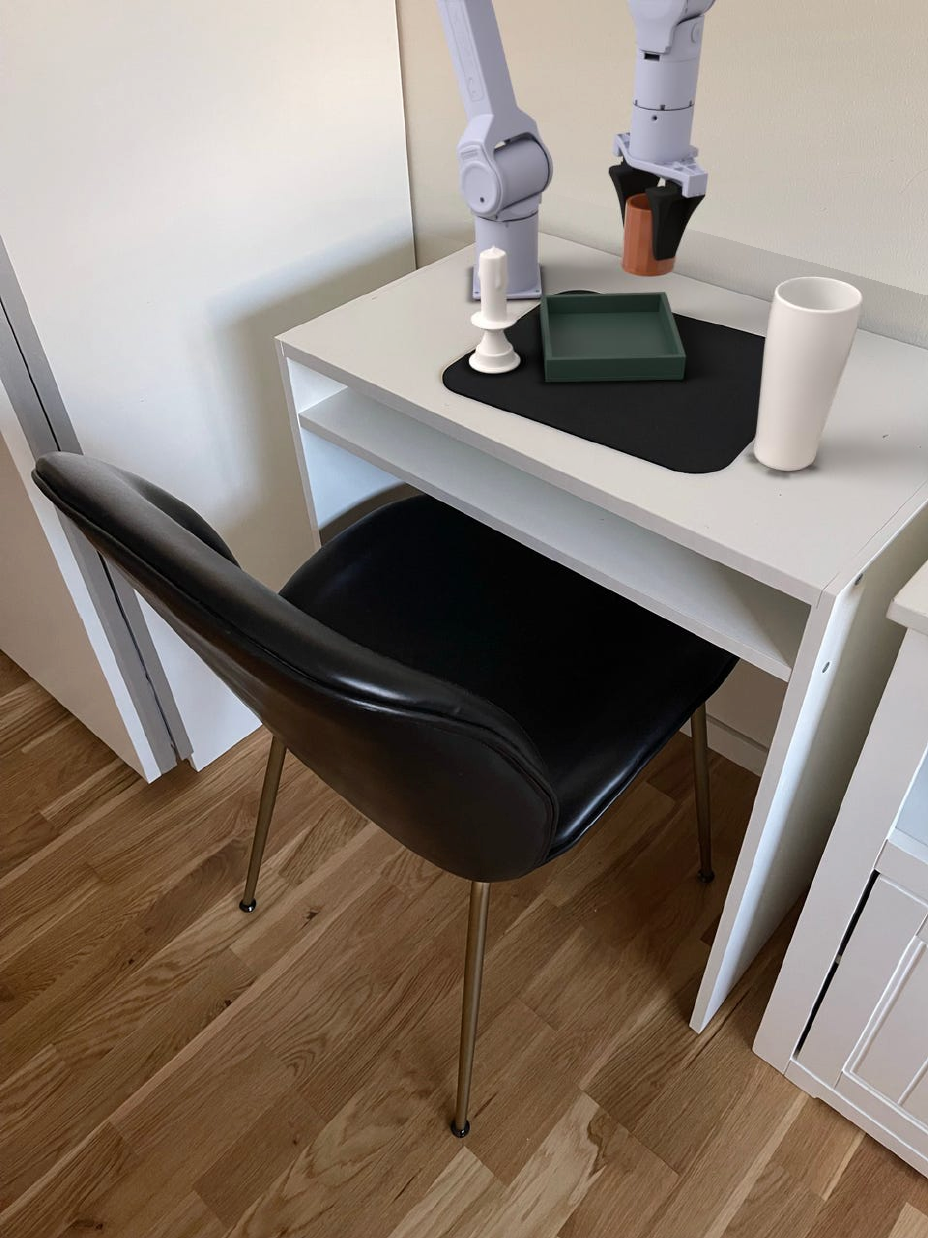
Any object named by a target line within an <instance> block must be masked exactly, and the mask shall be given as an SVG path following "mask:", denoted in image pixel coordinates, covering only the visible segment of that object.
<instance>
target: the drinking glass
mask: <svg viewBox="0 0 928 1238" xmlns="http://www.w3.org/2000/svg"><path fill="white" fill-rule="evenodd" d="M863 301H864V297H863V293H862V292H861V291H860V290H859V289H858V288H856V287H855V286H853V285H852V284H850V283H848V282H845V281H842V280H838V279H835V278H830V277H823V276H800V277H794V278H791V279H787V280H785V281H783V282H781V283H779V285H777V286H776V288H775V290H774V293H773V298H772V302H771V306H770V309H769V310H770V311H769V315H768V319H767V324H766V332H765V340H764V346H763V355H762V365H761V366H762V367H761V379H760V387H759V389H760V390H759V401H758V408H757V420H756V430H755V435H754V440H753V446H752V447H753V448H752V451H753V455H754V457H755V459H757V460H758V462H759V463H761V464H762V465H764V466H766V467H767V468H770V469H773V470H777V471H784V472H792V471H799V470H803V469H805V468H807V467H809V466H810V465H811V464H812V463H813V462H814V461H815V459H816V456H817V453H818V449H819V444H820V441H821V438H822V435H823V432H824V429H825V426H826V423H827V420H828V418H829V414H830V411H831V408H832V406H833V403H834V400H835V397H836V394H837V391H838V389H839V386H840V383H841V381H842V377H843V374H844V371H845V369H846V366H847V363H848V360H849V358H850V354H851V351H852V348H853V345H854V341H855V338H856V333H857V330H858V325H859V321H860V316H861V310H862V305H863Z"/></svg>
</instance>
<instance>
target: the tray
mask: <svg viewBox="0 0 928 1238" xmlns="http://www.w3.org/2000/svg"><path fill="white" fill-rule="evenodd" d="M539 314H540V316H539V317H540V327H541V339H542V341H541V342H542V351H543V363H544V376H545V383H582V382H583V383H584V382H586V383H588V382H590V383H591V382H632V381H675V380H676V381H680V380H684V377H685V376H684V375H685V369H686V361H687V355H686V351H685V349H684V347H683V346H684V345H683V343H682V339H681V336H680V334H679V330H678V327H677V324H676V320H675V318H674V314H673V311H672V308H671V305H670V302H669V298H668V295H667V293H666V291H650V292H648V291H647V292H615V293H613V292H610V293H574V294H570V293H568V294H567V293H566V294H542V295H541V297H540V312H539Z"/></svg>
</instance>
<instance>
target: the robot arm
mask: <svg viewBox="0 0 928 1238" xmlns="http://www.w3.org/2000/svg"><path fill="white" fill-rule="evenodd" d="M626 1H627V6H628V10H629V13H630V14H631V17H632V20H633V21H634V24H635V25H634V26H635V38H634V39H635V40H634V42H635V43H636V53H635V54H636V55H635V67H634V68H635V69H634V81H633V95H632V104H631V105H632V106H631V120H630V131H627V132H620V133H615V134H613V146H612V149H613V150H612V155H613V156H615V157H616V158H621V157H622V161H620V164H619V163H618V164H614V165H611V166H609V167H608V176H609V177H610V180H611V183H612V184H613V187H614V190H615V192H616V195H617V200H618V203H619V209H620V214H621V220H622V221H621V222H622V227H623V228H622V229H624V223H625V210H626V201H627V199H628V198H629V197H631V196H634V195H636V194H642V193H645V194H646V196H647V199H648V202H649V205H650V210H651V215H652V225H653V241H652V247H653V256H654V259H655V260H657V261H661V260H666V259H671V258H674V257H675V255H676V256H677V252H678V249H679V246H680V243H681V241H682V238H683V236H684V233H685V231H686V229H687V226H688V224H689V222H690V220H691V218H692V216H693V215H694V213H695V211H696V210H697V208H698V206H699V205H700V204H701V203H702V201H703V200H704V199H705V198H706V195H707V194H706V193H707V185H708V178H709V173H708V172H707V171H705V170H704V169H703V168H702V167H701V166H700V164H699V162H698V161H697V160H696V158H697V157H698V156H699V148H698V147H696V146H694V145H692V144H691V139H692V131H693V122H694V113H695V106H696V105H695V104H696V97H697V96H696V95H697V88H698V79H699V78H698V77H699V70H700V61H701V52H702V44H703V43H702V42H703V37H704V36H703V35H704V26H705V17H706V15H705V14H706V13H707V12H708V11H710V10H711V8H712V7H713V6H714V4H715V2H716V1H717V0H626ZM435 4H436V7H437V11H438V15H439V18H440V22H441V26H442V30H443V33H444V34H443V35H444V38H445V41H446V45H447V49H448V52H449V56H450V60H451V63H452V69H453V72H454V75H455V79H456V82H457V85H458V86H457V87H458V90H459V94H460V99H461V101H462V102H461V103H462V105H463V108H464V113H465V117H466V120H467V125H466V127H465V129H464V131H463V134H462V135H461V138H460V139H459V142H458V144H457V146H456V149H455V152H456V156H457V159H458V160H457V161H458V164H459V176H458V183H459V190H460V193H461V196H462V198H463V201H464V202H465V204H466V206H467V207H468V209H469V210H470V214H471V215H472V216H474V237H475V264H474V265H473V276H472V277H473V278H472V279H473V281H472V298H473V299H474V300H481V281H480V279H479V277H478V272H479V258H480V253H481V252H483V251H485V250H488V249H491V248H493V245H494V247H495V248H498V249H500V250H502V251H504V252H506V254H507V272H508V278H509V282H508V285H507V300H508V299H509V300H511V299H513V300H514V299H541V295H543V290H542V289H543V288H542V278H541V268H540V262H539V216H540V215H539V213H540V210H539V207H540V205H541V204H542V203H543V193H544V192H545V191H547V189H548V188H549V187H550V184H551V182H552V179H553V176H554V164H553V158H552V155H551V153H550V150H549V148H548V147H547V146H546V144H545V143H544V141H543V139H542V137H541V135H540V132H539V129H538V125H537V121H536V120H535V119H534V118H532V117H531V116H530V115H529V114H527V113H526V112H524V111H523V110H522V109H521V108H519V106H518V103H517V99H516V96H515V91H514V88H513V83H512V79H511V75H510V71H509V66H508V63H507V58H506V54H505V50H504V46H503V42H502V37H501V34H500V30H499V29H500V28H499V26H498V21H497V16H496V14H495V13H496V12H495V8H494V5H493V1H492V0H435ZM499 143H504V144H502V145H499V146H497V145H498V144H499ZM496 146H497V147H496ZM661 179H662V180H663V181H664V185H659V184H660V182H661Z"/></svg>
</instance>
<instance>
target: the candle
mask: <svg viewBox="0 0 928 1238" xmlns="http://www.w3.org/2000/svg"><path fill="white" fill-rule="evenodd" d="M478 277H479V279H480V281H481V299H480V308H481V310H479V311H476V312H475V313H474V314H472V315H471V317H470V322H471V323H472V325H473V326H475V327H476V328H479V329H481V330H483V331H485V332H484V335H483V337H482V339H481V342H479V343H478V344H477V345H476V348H475V352H474V353H472V354H471V355H470V357H469V359H468V363H469V366H470V367H471V368H472V369H474V370H476V371H478V372H480V373H485V374H503V373H508V372H510V371H513V370H515V369H516V368H517V367H518V366H519V365H520V364H521V357H520V355H519V354H518V353H517V352H515V351H514V350H515V349H514V346H513V345H512V343H510V342H509V341H508V339H507V337H506V335H505V332H504V330H505V329H508V328H509V327H512V326H513V325H515V324H516V323H517V321H518V316H517V314H516V313H515V312H513V311H512V310H509V309H507V306H508V305H507V303H508V302H507V300H508V299H507V285H508V282H509V278H508V272H507V254H506V252H504V251H502V250H500V249H498V248H495V247H494V245H493V248H491V249H488V250H485V251H483V252H481V253H480V258H479V272H478Z"/></svg>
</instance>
